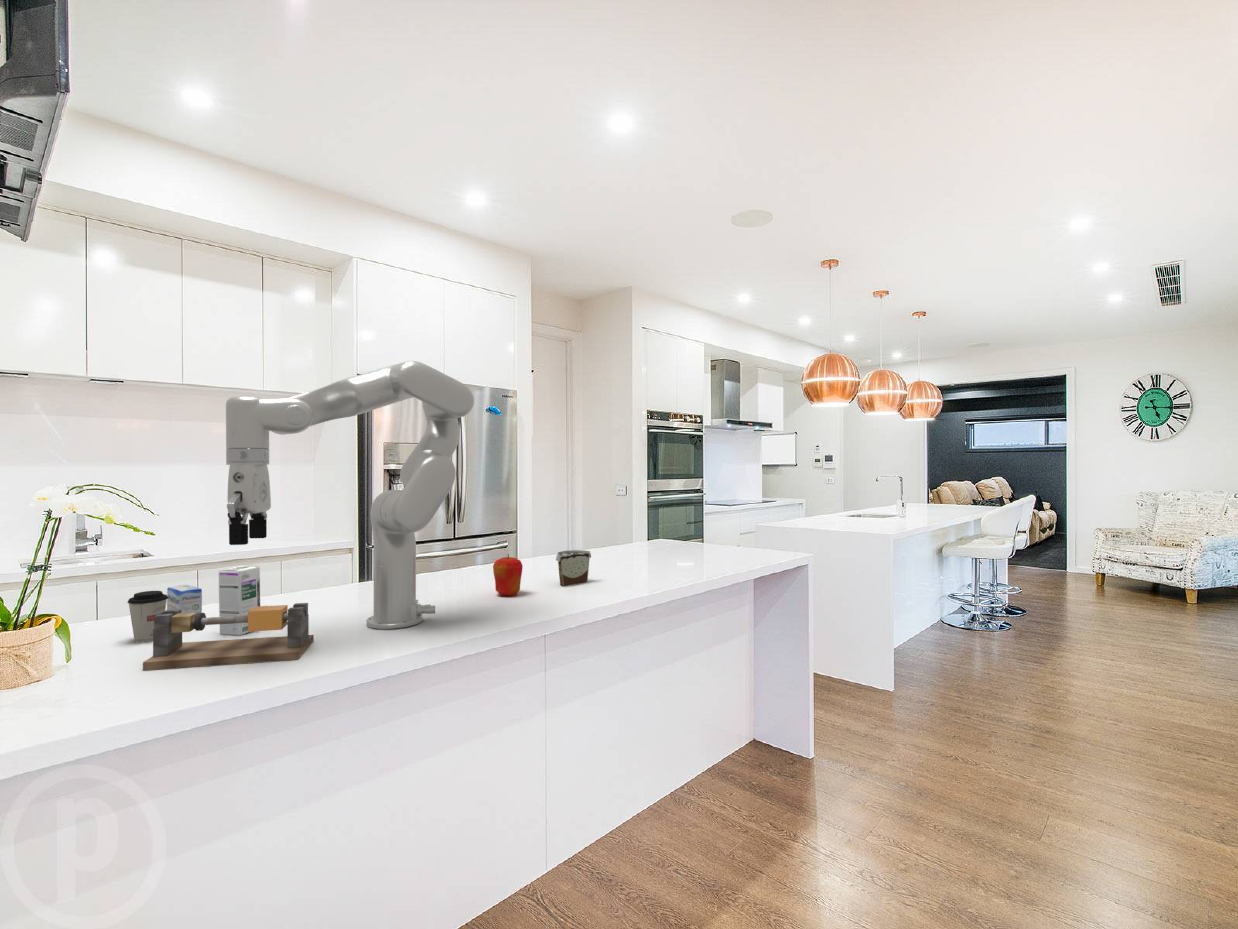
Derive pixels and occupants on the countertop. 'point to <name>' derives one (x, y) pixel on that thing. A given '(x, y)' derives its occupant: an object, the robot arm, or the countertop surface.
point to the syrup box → (238, 596)
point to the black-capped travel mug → (145, 613)
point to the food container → (573, 567)
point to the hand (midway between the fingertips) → (248, 541)
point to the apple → (507, 575)
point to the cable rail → (224, 641)
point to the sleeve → (267, 618)
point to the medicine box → (184, 598)
